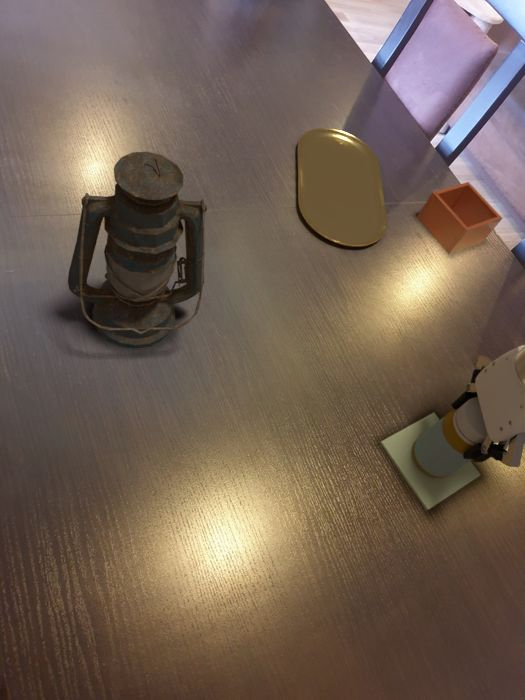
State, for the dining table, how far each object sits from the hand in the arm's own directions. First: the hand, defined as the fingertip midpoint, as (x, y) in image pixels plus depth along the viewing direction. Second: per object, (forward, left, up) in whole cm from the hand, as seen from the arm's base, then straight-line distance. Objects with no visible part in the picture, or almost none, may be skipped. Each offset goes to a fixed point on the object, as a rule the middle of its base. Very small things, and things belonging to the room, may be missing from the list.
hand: (466, 431), depth 80 cm
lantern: (+31, -41, -11) cm, 53 cm away
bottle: (0, 0, -10) cm, 10 cm away
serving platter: (-22, -56, -11) cm, 61 cm away
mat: (0, 0, -11) cm, 11 cm away
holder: (-40, -38, -11) cm, 56 cm away
